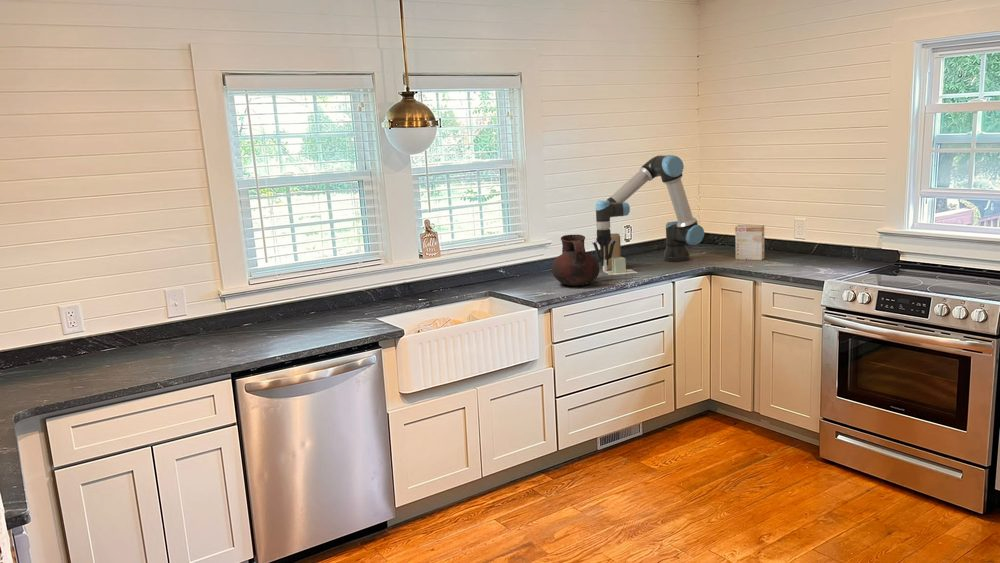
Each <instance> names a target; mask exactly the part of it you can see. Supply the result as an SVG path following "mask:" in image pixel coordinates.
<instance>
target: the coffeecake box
mask: <svg viewBox="0 0 1000 563" xmlns="http://www.w3.org/2000/svg"><path fill="white" fill-rule="evenodd" d="M734 231H735V232H734V233H735V237H734V238H735V248H734V249H735V250H734V251H735V260H736V261H737V260H738V259H739V260H738V261H740V260H741V261H742V260H743V261H745V260H746V259H747V260H746V261H762V259H763V260H764V259H765V225H764V224H758V225H757V224H756V225H755V224H742V225H741V224H738V225H736V226H735V228H734Z"/></svg>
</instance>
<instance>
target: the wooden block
mask: <svg viewBox="0 0 1000 563" xmlns="http://www.w3.org/2000/svg"><path fill="white" fill-rule="evenodd" d="M611 238H612V240H614V241H616V242H615V244H614V247H613V252H612V257H611V258H610V259H609V260H608V265H607V271H612V258H615V257H622V254H621V253H622V252H621V251H622V249H621V248H622V247H621V246H622V245H621V236H620V233H611ZM610 245H611V241H610V243H609V245H608V255H609V250H610ZM604 259H605V247H604Z"/></svg>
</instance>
